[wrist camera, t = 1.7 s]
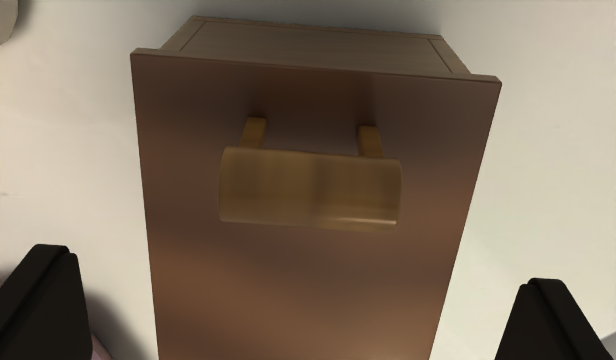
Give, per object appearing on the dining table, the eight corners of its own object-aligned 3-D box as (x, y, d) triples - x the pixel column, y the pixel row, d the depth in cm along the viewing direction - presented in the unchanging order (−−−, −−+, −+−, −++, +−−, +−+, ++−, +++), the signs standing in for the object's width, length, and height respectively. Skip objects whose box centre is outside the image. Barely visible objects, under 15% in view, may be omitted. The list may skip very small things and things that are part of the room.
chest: (191, 15, 27) (138, 68, 19) (441, 35, 27) (490, 96, 19) (200, 249, 34) (163, 357, 26) (396, 263, 34) (419, 375, 26)
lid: (136, 46, 18) (58, 113, 13) (496, 75, 19) (568, 152, 13) (163, 358, 26) (121, 481, 21) (419, 376, 26) (444, 503, 21)
